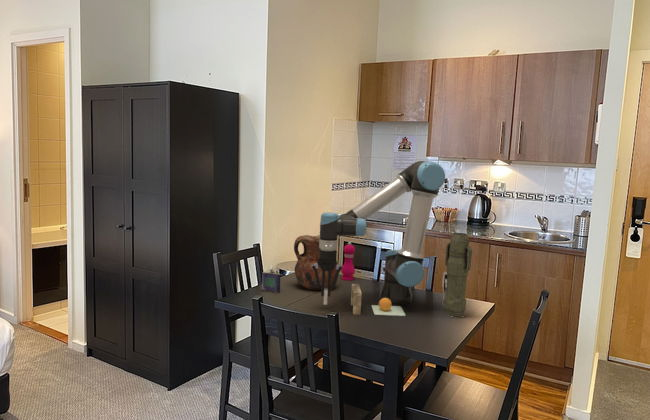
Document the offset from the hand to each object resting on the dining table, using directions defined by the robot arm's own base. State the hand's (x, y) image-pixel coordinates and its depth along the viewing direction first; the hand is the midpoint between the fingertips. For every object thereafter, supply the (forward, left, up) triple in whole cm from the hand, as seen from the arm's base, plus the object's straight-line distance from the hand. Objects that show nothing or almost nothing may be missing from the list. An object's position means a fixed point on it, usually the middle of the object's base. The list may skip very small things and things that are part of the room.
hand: (325, 303), depth 222 cm
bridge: (-13, 0, -2) cm, 13 cm away
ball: (-26, 0, +1) cm, 26 cm away
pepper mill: (-13, -53, -2) cm, 55 cm away
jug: (+4, -35, -2) cm, 35 cm away
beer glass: (-56, -11, -2) cm, 57 cm away
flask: (+25, -23, -2) cm, 34 cm away
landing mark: (-27, 0, -2) cm, 27 cm away
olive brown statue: (-55, +2, -2) cm, 55 cm away
